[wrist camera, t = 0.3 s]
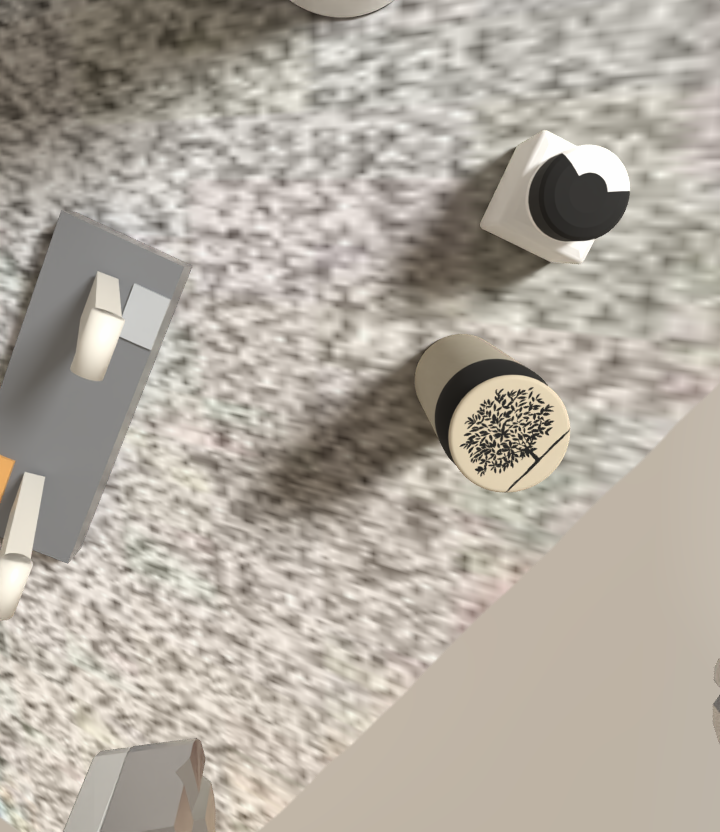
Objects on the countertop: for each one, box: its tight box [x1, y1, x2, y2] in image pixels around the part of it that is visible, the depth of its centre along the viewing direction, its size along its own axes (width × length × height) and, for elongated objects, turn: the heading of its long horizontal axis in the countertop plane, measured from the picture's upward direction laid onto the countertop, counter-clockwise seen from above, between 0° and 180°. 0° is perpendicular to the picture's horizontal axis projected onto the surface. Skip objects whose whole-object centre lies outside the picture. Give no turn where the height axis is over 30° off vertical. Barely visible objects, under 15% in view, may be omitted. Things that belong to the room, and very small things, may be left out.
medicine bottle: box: [480, 130, 630, 264], centre depth 48 cm, size 7×7×12 cm
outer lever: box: [0, 472, 45, 621], centre depth 49 cm, size 4×2×14 cm, turn 155°
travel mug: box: [414, 334, 570, 492], centre depth 49 cm, size 8×8×18 cm
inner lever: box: [70, 271, 125, 381], centre depth 46 cm, size 4×2×14 cm, turn 155°
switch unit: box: [0, 210, 192, 564], centre depth 55 cm, size 28×10×3 cm, turn 155°
